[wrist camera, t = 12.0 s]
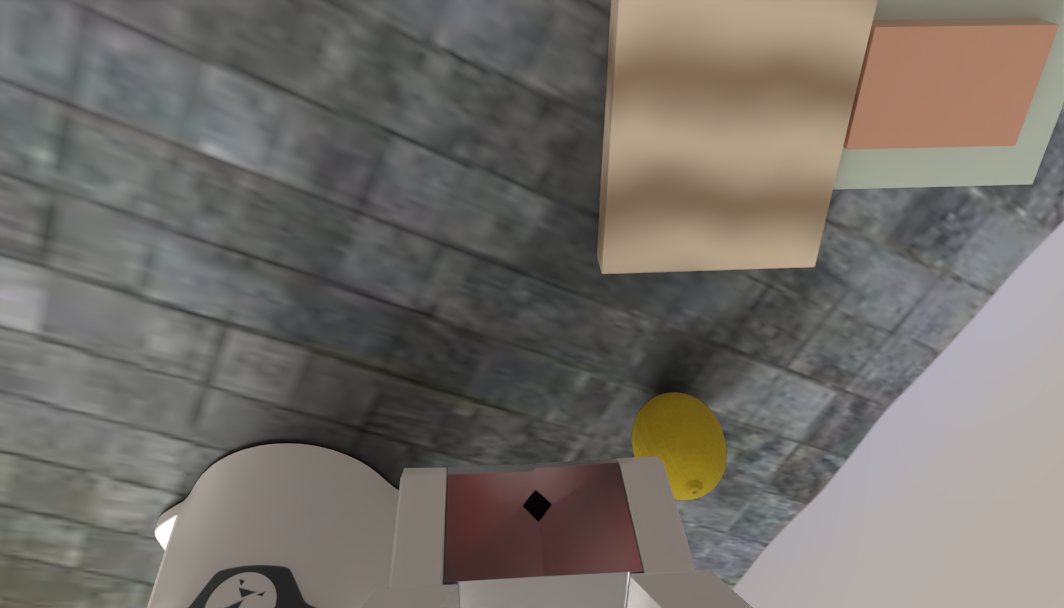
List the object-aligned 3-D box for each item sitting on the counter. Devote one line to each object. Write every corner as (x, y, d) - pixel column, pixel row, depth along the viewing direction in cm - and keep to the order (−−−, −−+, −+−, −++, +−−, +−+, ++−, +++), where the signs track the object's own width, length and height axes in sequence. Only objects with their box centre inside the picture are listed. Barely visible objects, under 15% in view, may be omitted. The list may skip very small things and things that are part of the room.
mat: (1026, 180, 42) (1032, 184, 42) (819, 186, 42) (822, 189, 41) (1134, -101, 35) (1142, -100, 34) (883, -101, 34) (888, -100, 34)
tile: (998, 135, 40) (1015, 145, 39) (834, 139, 40) (846, 149, 38) (1039, 18, 37) (1059, 24, 36) (861, 20, 36) (875, 27, 35)
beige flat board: (801, 250, 44) (814, 267, 42) (596, 256, 43) (602, 273, 41) (890, -152, 33) (913, -151, 31) (620, -153, 32) (628, -151, 31)
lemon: (617, 433, 51) (640, 526, 44) (628, 367, 48) (654, 456, 41) (697, 433, 51) (732, 525, 44) (713, 367, 48) (752, 456, 41)
